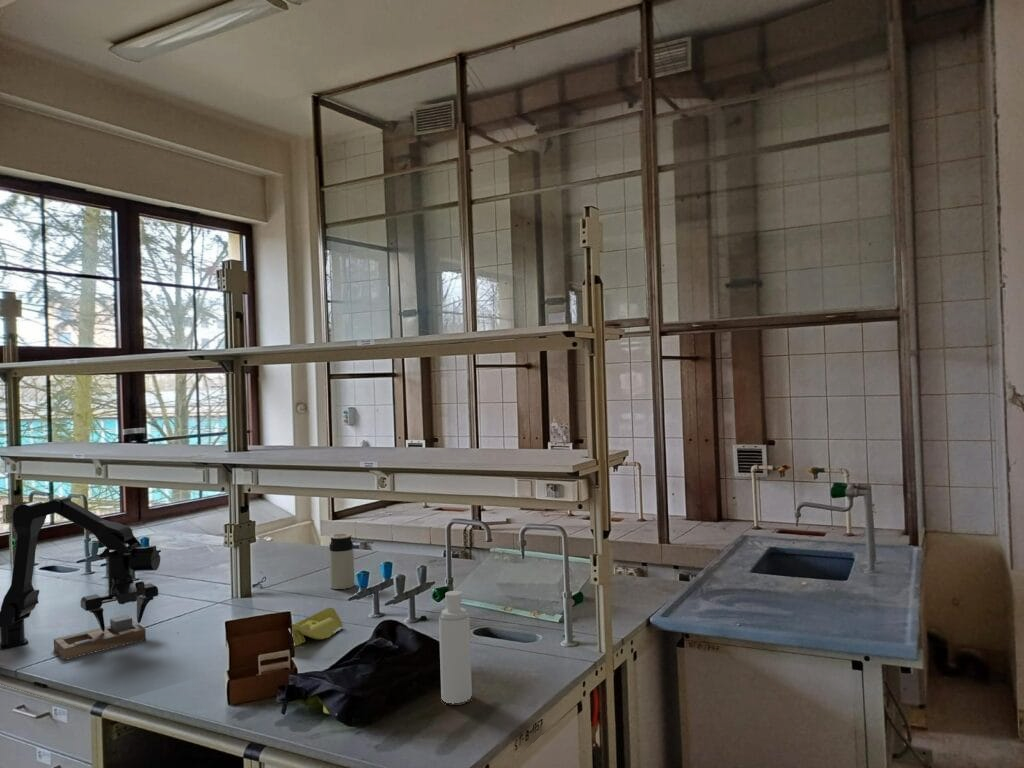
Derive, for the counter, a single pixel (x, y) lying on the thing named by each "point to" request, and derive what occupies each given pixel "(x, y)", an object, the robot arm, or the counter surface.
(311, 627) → the plastic component
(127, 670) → the counter surface
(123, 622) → the plug
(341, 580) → the travel mug
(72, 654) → the socket bar
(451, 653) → the white bottle
